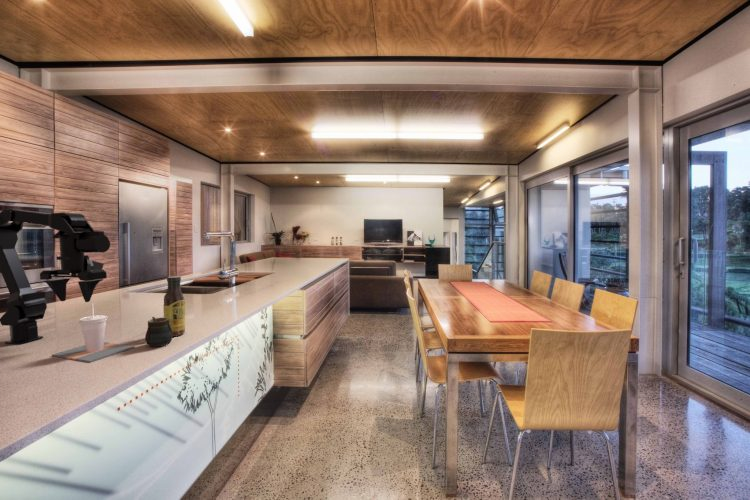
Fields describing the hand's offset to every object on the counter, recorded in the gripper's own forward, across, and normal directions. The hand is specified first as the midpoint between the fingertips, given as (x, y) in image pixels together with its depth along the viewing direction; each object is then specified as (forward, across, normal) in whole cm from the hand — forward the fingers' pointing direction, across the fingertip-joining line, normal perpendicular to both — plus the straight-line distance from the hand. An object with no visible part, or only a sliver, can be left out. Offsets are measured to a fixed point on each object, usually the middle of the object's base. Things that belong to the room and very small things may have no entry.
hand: (75, 301), depth 107 cm
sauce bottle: (+13, -26, -11) cm, 31 cm away
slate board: (+13, -14, +7) cm, 21 cm away
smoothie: (+13, -14, +7) cm, 20 cm away
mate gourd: (+13, -29, -1) cm, 32 cm away
